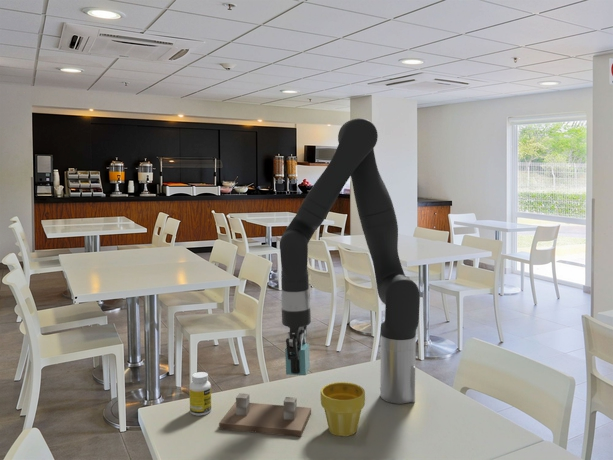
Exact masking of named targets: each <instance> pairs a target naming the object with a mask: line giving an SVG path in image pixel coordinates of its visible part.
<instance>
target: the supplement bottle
mask: <svg viewBox="0 0 613 460" xmlns="http://www.w3.org/2000/svg"><path fill="white" fill-rule="evenodd" d="M188 388H189V413H190V414H191V415H193V416H200V417H201V416H205V415H208V414H209V413H211V411H212V384H211V381H209V373H208V372H205V371H198V372H194V373H193V374H192V375H191V383H190V384H189V387H188Z"/></svg>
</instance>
